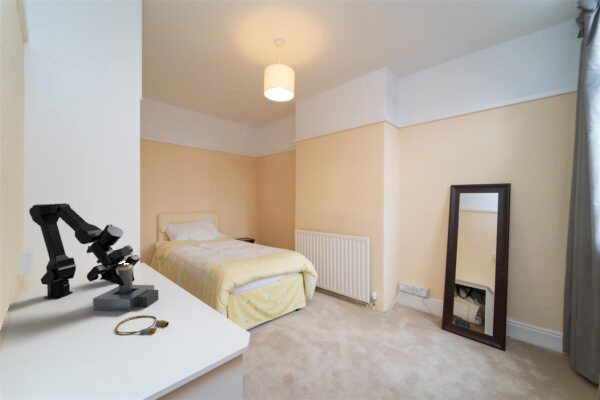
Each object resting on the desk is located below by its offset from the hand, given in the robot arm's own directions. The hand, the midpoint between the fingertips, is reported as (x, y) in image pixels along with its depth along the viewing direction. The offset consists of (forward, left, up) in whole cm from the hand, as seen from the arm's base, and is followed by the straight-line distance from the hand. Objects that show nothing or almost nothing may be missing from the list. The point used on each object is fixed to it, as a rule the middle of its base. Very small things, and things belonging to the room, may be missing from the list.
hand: (128, 283), depth 97 cm
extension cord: (+16, -16, -9) cm, 25 cm away
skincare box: (-22, +25, -8) cm, 35 cm away
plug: (-1, 0, -7) cm, 7 cm away
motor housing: (+1, 0, -8) cm, 8 cm away
